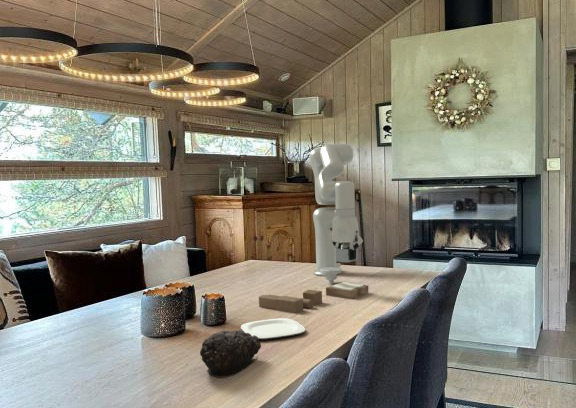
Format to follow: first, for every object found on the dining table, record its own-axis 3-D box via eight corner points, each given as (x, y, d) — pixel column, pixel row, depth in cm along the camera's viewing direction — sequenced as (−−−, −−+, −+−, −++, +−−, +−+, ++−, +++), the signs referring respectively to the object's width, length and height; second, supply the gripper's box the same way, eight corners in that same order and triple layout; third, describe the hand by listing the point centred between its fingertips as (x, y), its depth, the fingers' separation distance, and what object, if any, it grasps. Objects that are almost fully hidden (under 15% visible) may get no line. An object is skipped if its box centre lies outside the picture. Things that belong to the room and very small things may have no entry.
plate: (236, 328, 163) (236, 323, 163) (289, 321, 169) (289, 316, 169) (253, 345, 146) (252, 339, 146) (311, 336, 152) (311, 331, 152)
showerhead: (319, 269, 219) (320, 265, 229) (320, 286, 220) (320, 281, 229) (341, 268, 218) (341, 264, 228) (342, 285, 219) (342, 280, 229)
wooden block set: (297, 298, 177) (257, 293, 187) (298, 315, 177) (258, 308, 188) (324, 288, 190) (285, 284, 201) (324, 304, 190) (286, 298, 201)
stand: (343, 289, 212) (343, 281, 211) (368, 293, 204) (368, 284, 204) (326, 295, 202) (325, 286, 202) (351, 299, 195) (351, 290, 195)
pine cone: (266, 357, 135) (265, 320, 135) (229, 382, 119) (227, 340, 119) (233, 352, 140) (231, 316, 139) (193, 376, 124) (191, 335, 123)
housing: (346, 258, 207) (345, 243, 207) (357, 259, 204) (357, 244, 203) (336, 261, 202) (335, 245, 201) (347, 262, 198) (347, 246, 198)
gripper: (321, 213, 204) (323, 258, 205) (358, 214, 193) (359, 262, 194) (332, 212, 210) (334, 256, 211) (369, 213, 199) (370, 259, 200)
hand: (346, 258), depth 202 cm, fingers closed on housing, 5 cm apart
